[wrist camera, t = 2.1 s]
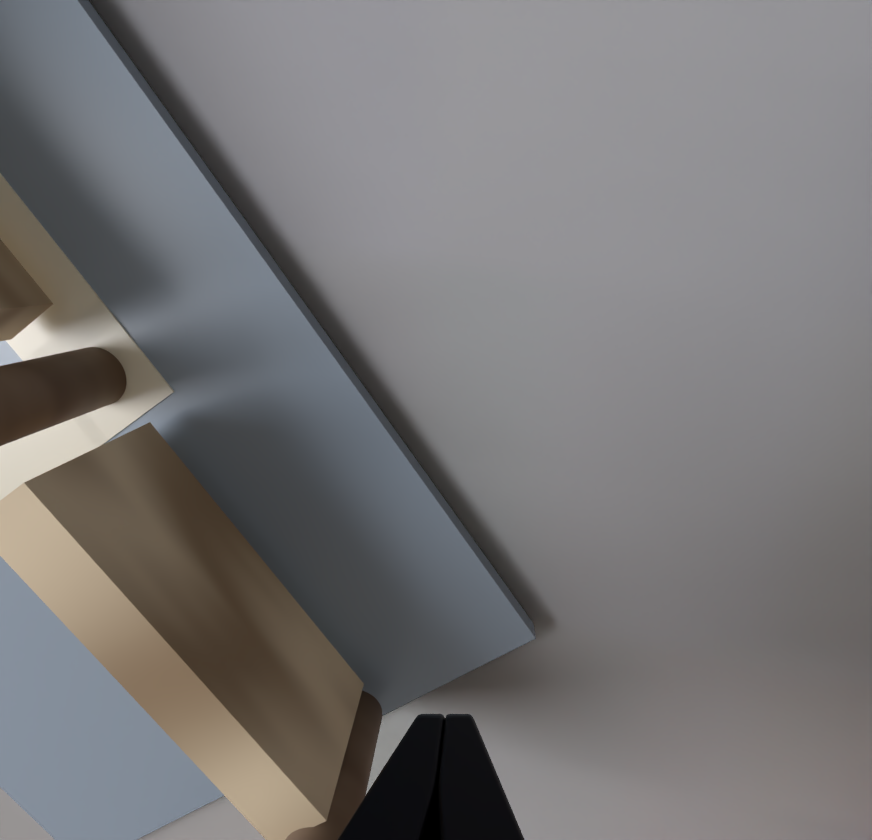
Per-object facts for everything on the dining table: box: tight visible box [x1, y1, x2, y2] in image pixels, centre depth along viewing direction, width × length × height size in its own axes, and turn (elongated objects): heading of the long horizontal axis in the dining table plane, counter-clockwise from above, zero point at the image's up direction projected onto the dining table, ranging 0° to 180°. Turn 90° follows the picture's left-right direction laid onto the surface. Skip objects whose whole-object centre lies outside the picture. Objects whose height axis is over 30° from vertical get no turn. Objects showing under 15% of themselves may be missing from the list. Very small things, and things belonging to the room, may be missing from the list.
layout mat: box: [0, 0, 536, 840], centre depth 14 cm, size 17×23×1 cm
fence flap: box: [0, 422, 382, 840], centre depth 11 cm, size 10×1×5 cm, turn 34°
